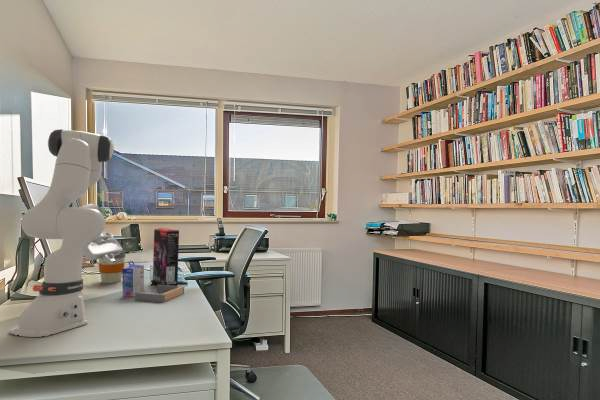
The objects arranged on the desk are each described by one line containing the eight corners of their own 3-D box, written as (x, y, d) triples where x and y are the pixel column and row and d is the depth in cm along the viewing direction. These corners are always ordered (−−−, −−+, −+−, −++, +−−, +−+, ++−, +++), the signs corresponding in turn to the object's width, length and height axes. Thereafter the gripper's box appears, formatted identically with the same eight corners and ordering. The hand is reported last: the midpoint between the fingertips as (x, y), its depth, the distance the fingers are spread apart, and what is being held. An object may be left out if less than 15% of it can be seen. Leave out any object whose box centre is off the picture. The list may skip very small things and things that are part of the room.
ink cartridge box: (132, 291, 185) (133, 259, 185) (144, 292, 185) (145, 259, 185) (121, 296, 175) (121, 262, 175) (133, 297, 175) (134, 263, 175)
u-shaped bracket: (162, 302, 167) (163, 295, 167) (135, 299, 170) (135, 292, 170) (184, 293, 184) (184, 286, 184) (158, 291, 187) (158, 284, 187)
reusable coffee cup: (105, 278, 212) (106, 249, 212) (129, 279, 212) (129, 250, 212) (92, 283, 200) (92, 253, 200) (117, 284, 199) (118, 253, 199)
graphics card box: (151, 282, 205) (152, 228, 205) (165, 281, 210) (166, 227, 210) (165, 288, 192) (166, 230, 192) (179, 286, 197) (180, 230, 197)
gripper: (81, 237, 174) (101, 262, 172) (114, 233, 194) (132, 255, 192) (72, 247, 175) (91, 271, 173) (106, 242, 195) (123, 264, 193)
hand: (113, 263), depth 183 cm, fingers closed
